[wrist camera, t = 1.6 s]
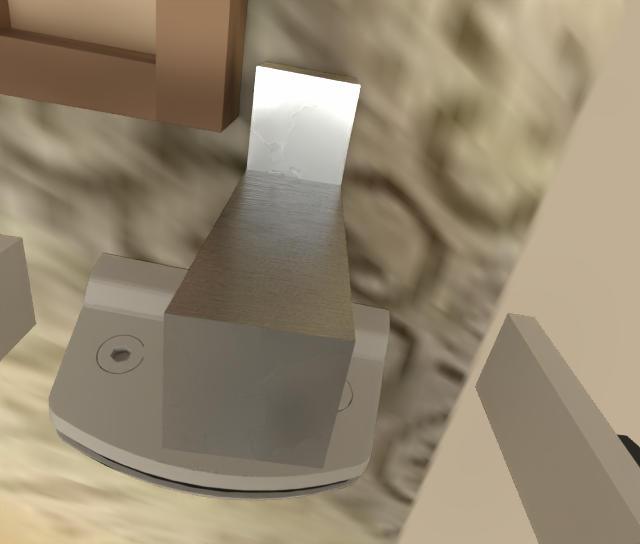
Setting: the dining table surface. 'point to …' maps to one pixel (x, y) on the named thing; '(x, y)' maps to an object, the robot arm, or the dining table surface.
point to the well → (127, 57)
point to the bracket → (269, 288)
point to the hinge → (147, 394)
